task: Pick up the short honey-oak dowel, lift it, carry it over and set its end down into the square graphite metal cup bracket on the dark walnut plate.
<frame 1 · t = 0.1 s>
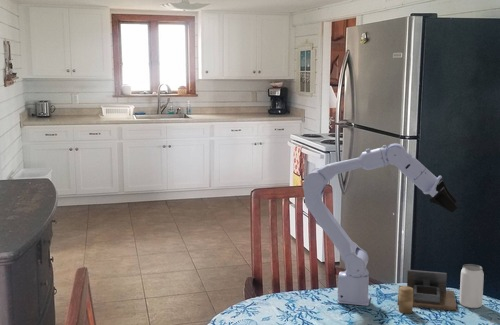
hand: (454, 206, 161), 32 cm above the table, tool tilted 50°, fingers open, 7 cm apart
can: (470, 305, 170), on the table
bracket: (426, 301, 173), on the table
dowel: (405, 310, 166), on the table
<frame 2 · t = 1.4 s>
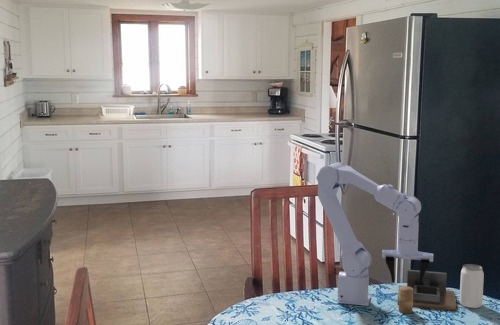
hand: (406, 282, 165), 9 cm above the table, tool pointing down, fingers open, 7 cm apart
nothing on the table moved.
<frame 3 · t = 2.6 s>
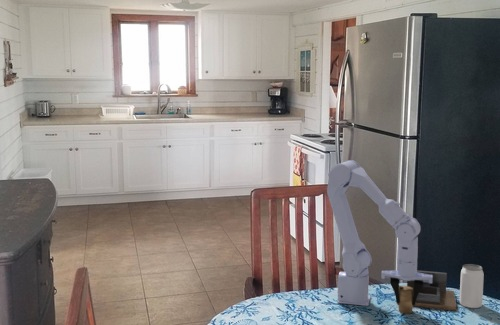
hand: (405, 303, 166), 2 cm above the table, tool pointing down, fingers closed on dowel, 4 cm apart
dowel: (405, 310, 166), on the table, touching gripper
everything else where it was.
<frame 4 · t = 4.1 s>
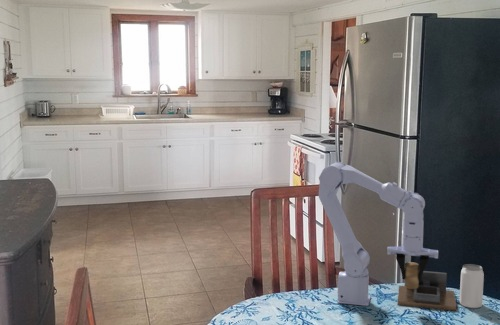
hand: (411, 278, 166), 9 cm above the table, tool pointing down, fingers closed on dowel, 4 cm apart
dowel: (411, 286, 166), point 7 cm above the table, touching gripper
everything else where it was.
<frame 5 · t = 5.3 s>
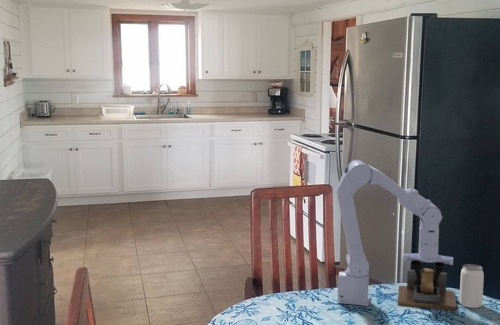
hand: (427, 284, 172), 5 cm above the table, tool pointing down, fingers closed on dowel, 4 cm apart
dowel: (426, 292, 172), point 3 cm above the table, touching gripper
everything else where it was.
when the fingers open (5 cm above the table, at t = 5.9 s): dowel stays where it is, resting on bracket.
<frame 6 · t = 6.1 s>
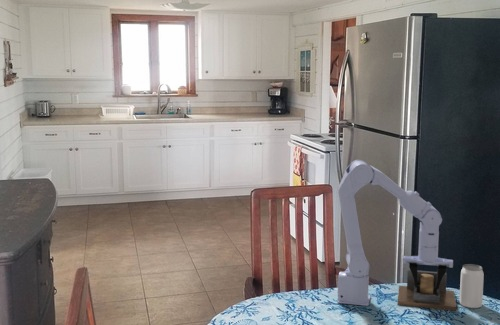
hand: (426, 287, 172), 5 cm above the table, tool pointing down, fingers open, 6 cm apart
dowel: (426, 297, 172), point 1 cm above the table, touching bracket
everything else where it was.
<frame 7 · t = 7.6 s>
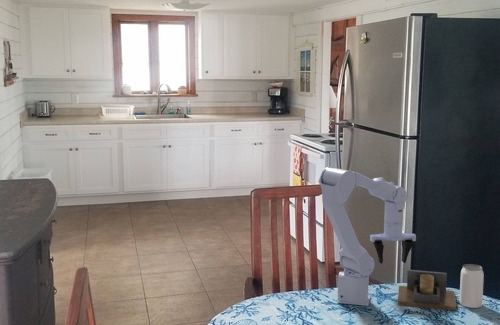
hand: (392, 262, 181), 9 cm above the table, tool pointing down, fingers open, 7 cm apart
nothing on the table moved.
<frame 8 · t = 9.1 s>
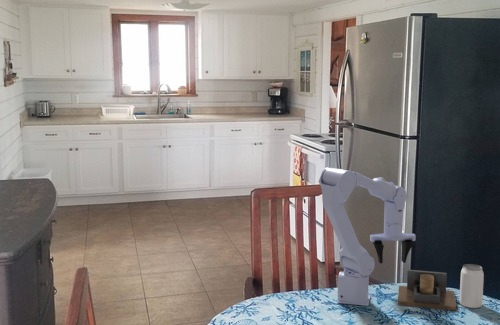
hand: (391, 262, 181), 9 cm above the table, tool pointing down, fingers open, 7 cm apart
nothing on the table moved.
at the end: dowel 0.1 cm off-centre on the bracket, point 1.2 cm above the bracket's base; dowel tilted 0°; the gripper is holding nothing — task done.
